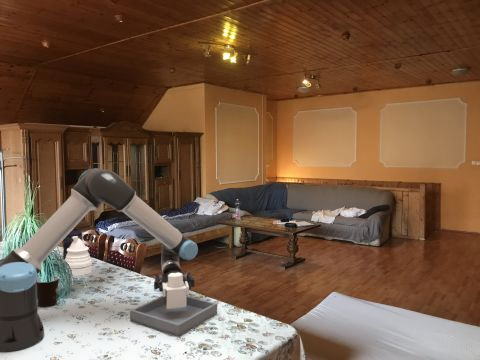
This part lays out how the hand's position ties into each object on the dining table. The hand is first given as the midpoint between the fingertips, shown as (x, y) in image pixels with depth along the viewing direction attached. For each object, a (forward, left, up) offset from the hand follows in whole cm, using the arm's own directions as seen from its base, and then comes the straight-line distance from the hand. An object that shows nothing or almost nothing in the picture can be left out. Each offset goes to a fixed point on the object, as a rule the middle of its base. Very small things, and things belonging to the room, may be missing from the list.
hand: (176, 291), depth 138 cm
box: (-4, +3, -11) cm, 12 cm away
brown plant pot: (-54, -13, -11) cm, 56 cm away
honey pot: (-78, +18, -11) cm, 81 cm away
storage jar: (-101, +31, -11) cm, 106 cm away
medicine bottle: (-3, +3, -7) cm, 8 cm away
